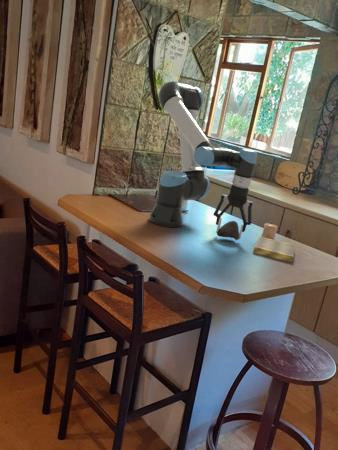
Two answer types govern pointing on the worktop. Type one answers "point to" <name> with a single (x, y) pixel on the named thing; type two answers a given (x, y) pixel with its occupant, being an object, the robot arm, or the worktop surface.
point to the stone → (229, 230)
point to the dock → (274, 249)
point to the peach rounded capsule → (269, 231)
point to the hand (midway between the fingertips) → (228, 235)
